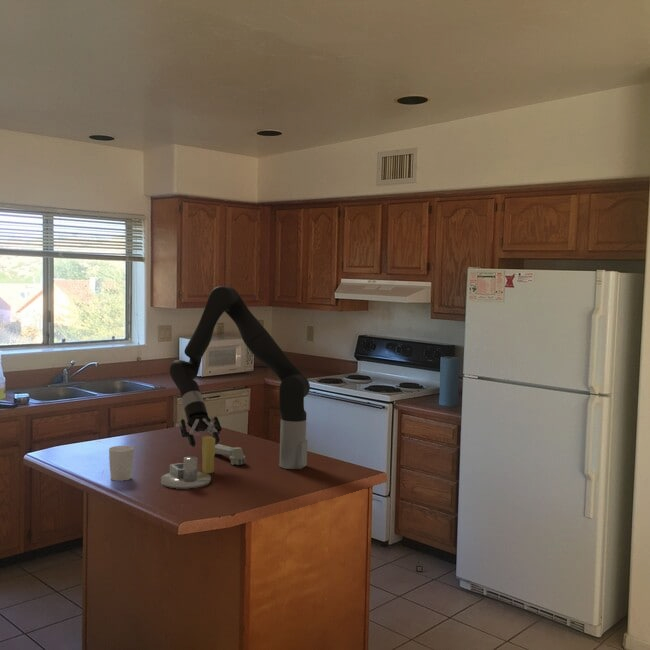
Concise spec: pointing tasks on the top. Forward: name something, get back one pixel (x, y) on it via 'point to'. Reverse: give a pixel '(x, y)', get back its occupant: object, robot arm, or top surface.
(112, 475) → the white cup
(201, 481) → the round grey holder stand
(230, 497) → the top surface
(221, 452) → the white long round-headed device
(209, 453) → the yellow block
